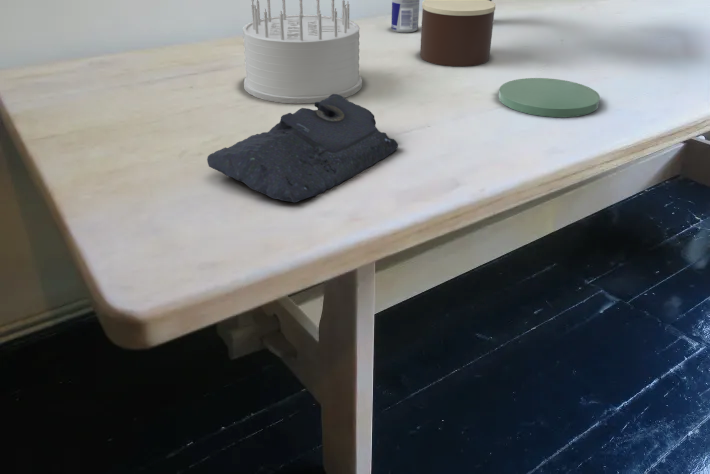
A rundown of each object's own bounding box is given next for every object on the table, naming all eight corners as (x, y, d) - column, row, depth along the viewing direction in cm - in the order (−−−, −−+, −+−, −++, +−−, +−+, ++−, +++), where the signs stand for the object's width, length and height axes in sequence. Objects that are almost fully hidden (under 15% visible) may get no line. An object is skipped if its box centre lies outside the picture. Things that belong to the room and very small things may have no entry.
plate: (601, 91, 99) (602, 83, 99) (595, 122, 88) (597, 114, 87) (507, 81, 104) (508, 73, 103) (490, 109, 92) (491, 101, 92)
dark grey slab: (186, 174, 73) (181, 134, 71) (311, 118, 89) (310, 83, 86) (292, 213, 66) (290, 169, 63) (409, 144, 81) (410, 107, 79)
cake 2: (495, 51, 119) (501, -1, 114) (482, 69, 109) (488, 13, 104) (429, 45, 123) (432, -6, 118) (410, 62, 113) (413, 7, 108)
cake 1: (366, 102, 95) (368, 5, 88) (239, 104, 94) (231, 6, 87) (357, 66, 110) (358, -18, 103) (248, 68, 109) (241, -17, 102)
